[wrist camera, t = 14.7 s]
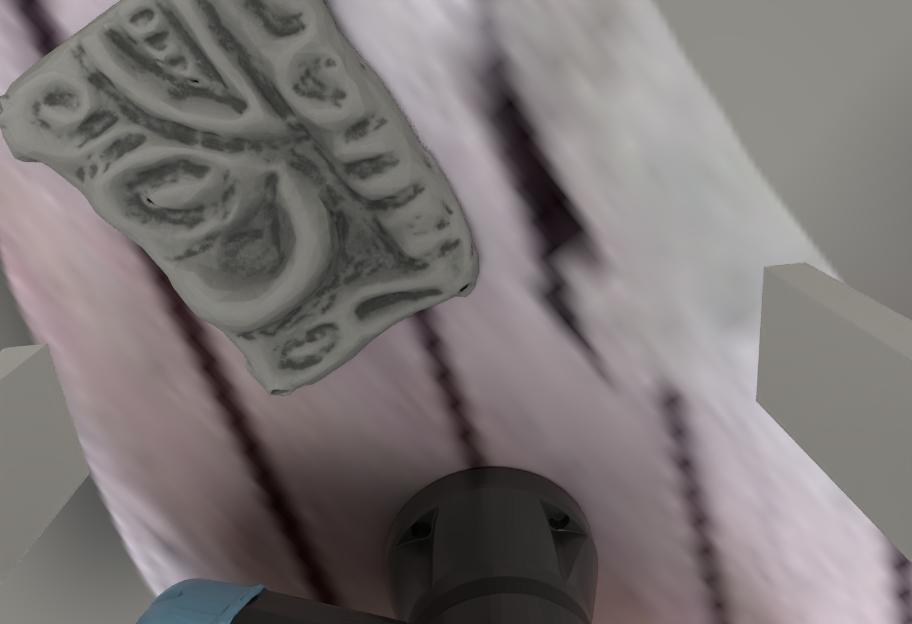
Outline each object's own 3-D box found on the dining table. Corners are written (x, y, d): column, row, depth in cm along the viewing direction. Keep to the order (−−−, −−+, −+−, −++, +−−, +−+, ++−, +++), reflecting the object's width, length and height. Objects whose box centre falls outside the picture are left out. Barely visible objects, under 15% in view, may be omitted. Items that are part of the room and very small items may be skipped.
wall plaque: (-13, 104, 38) (-58, 115, 34) (264, -109, 34) (245, -122, 31) (260, 412, 46) (247, 446, 43) (505, 266, 43) (512, 290, 39)
